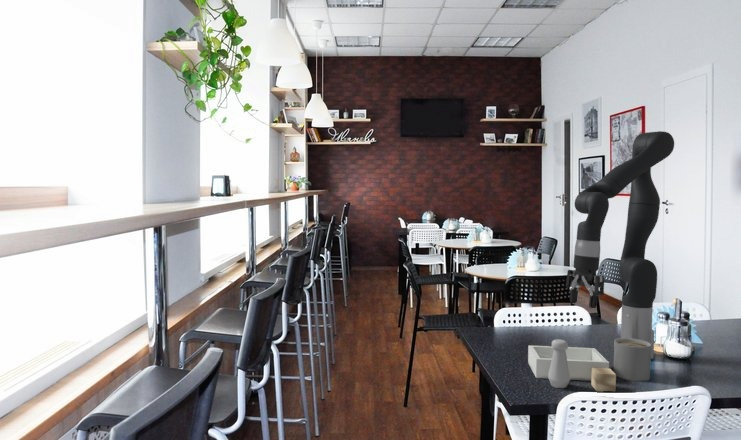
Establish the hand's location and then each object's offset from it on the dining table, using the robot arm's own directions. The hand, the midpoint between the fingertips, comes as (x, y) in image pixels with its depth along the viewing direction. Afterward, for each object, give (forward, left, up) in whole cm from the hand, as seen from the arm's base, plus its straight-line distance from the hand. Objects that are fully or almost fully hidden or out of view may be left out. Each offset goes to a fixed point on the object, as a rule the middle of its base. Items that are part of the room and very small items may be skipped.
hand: (582, 305), depth 168 cm
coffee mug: (-13, +8, -19) cm, 25 cm away
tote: (+7, +9, -19) cm, 22 cm away
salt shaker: (+12, +22, -19) cm, 31 cm away
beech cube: (0, +22, -19) cm, 29 cm away
